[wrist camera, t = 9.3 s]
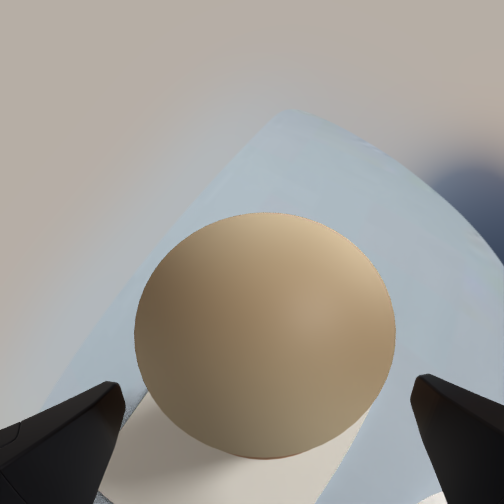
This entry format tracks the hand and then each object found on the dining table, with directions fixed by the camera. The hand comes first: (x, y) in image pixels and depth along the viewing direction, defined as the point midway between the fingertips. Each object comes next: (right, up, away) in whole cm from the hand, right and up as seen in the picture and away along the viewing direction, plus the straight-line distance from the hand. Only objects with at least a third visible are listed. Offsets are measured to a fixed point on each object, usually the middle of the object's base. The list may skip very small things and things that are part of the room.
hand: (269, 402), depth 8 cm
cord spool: (0, -4, +8) cm, 9 cm away
